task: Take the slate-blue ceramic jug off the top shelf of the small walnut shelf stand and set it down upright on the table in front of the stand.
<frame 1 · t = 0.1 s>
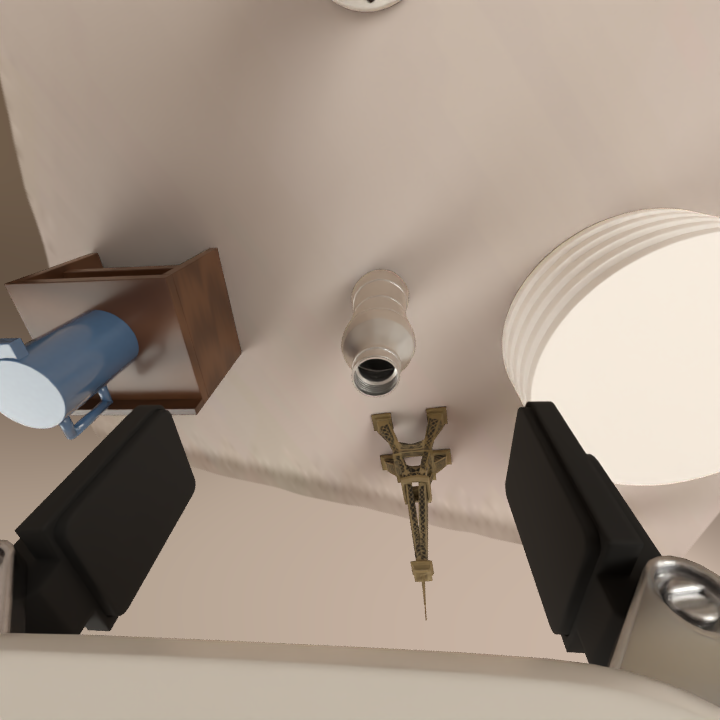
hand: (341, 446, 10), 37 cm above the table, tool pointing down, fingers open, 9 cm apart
shelf stand: (170, 305, 49), on the table
jug: (107, 339, 38), point 12 cm above the table, touching shelf stand
eiffel tower: (412, 438, 57), on the table
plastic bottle: (380, 290, 47), on the table
plate stack: (619, 330, 47), on the table
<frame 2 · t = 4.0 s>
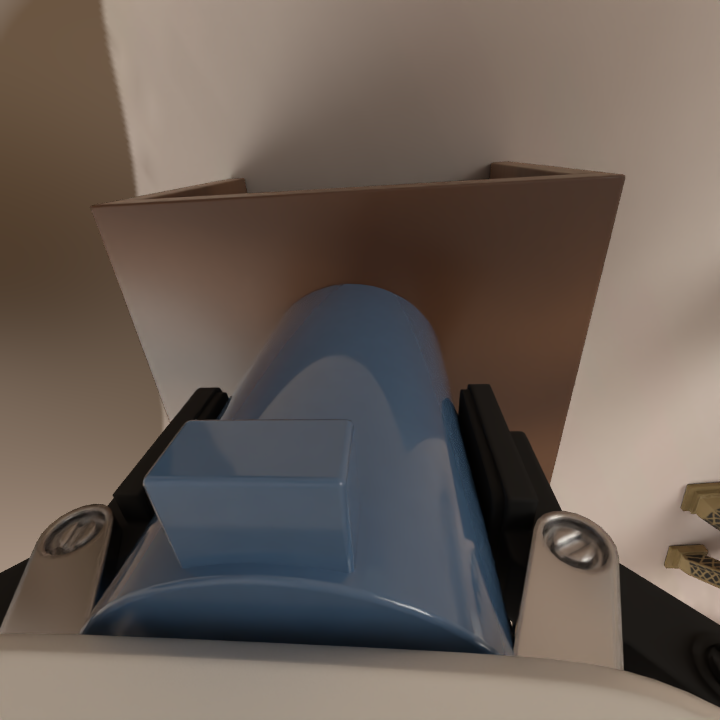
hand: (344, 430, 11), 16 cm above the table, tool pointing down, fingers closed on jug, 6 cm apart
shelf stand: (370, 289, 25), on the table
jug: (354, 367, 14), point 12 cm above the table, touching gripper, shelf stand
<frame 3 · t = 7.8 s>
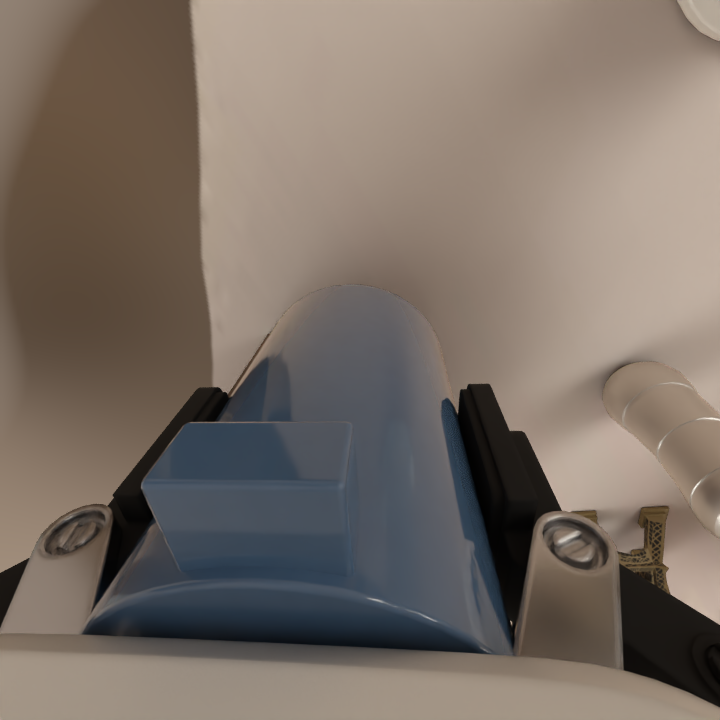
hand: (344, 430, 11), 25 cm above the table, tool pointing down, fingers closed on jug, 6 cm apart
jug: (354, 367, 14), point 21 cm above the table, touching gripper
eiffel tower: (611, 536, 48), on the table
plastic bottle: (629, 381, 37), on the table
when the fingers open (4 cm above the table, at t = 11.6 s): jug stays where it is, on the table.
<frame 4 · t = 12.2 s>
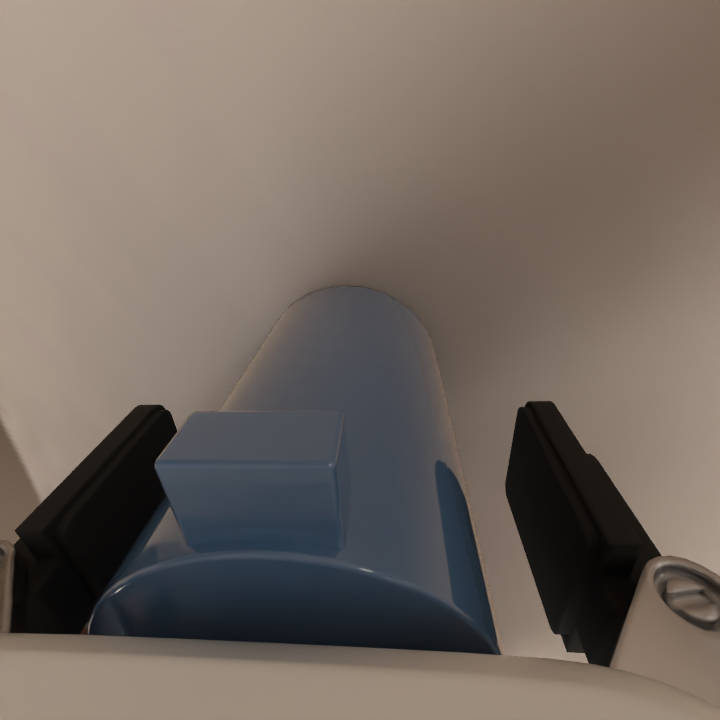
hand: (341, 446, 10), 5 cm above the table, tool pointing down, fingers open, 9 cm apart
jug: (350, 366, 15), on the table
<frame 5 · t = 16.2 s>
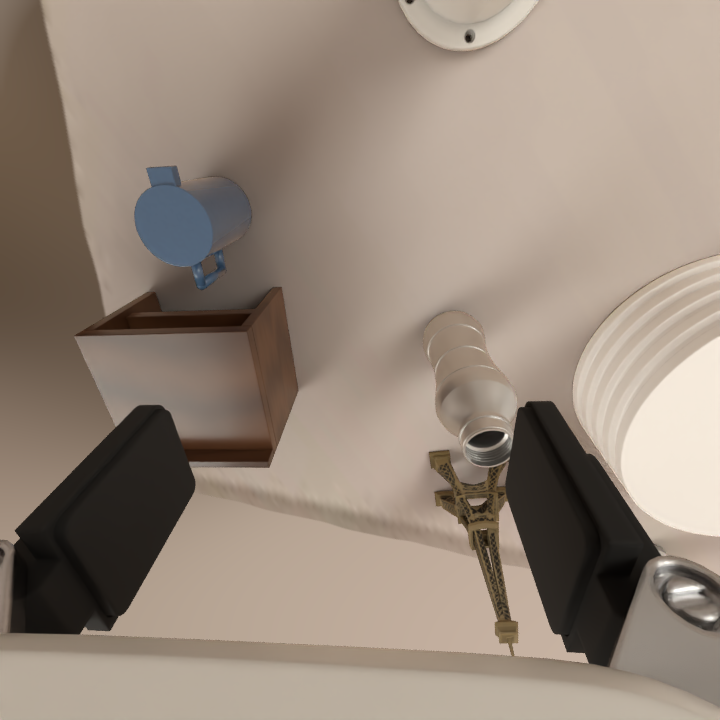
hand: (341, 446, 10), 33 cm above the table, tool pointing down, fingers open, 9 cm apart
shelf stand: (227, 344, 47), on the table
jug: (221, 210, 40), on the table
eiffel tower: (469, 475, 55), on the table
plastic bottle: (449, 330, 45), on the table
plate stack: (698, 370, 45), on the table
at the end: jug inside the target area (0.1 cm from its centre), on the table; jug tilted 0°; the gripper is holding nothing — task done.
